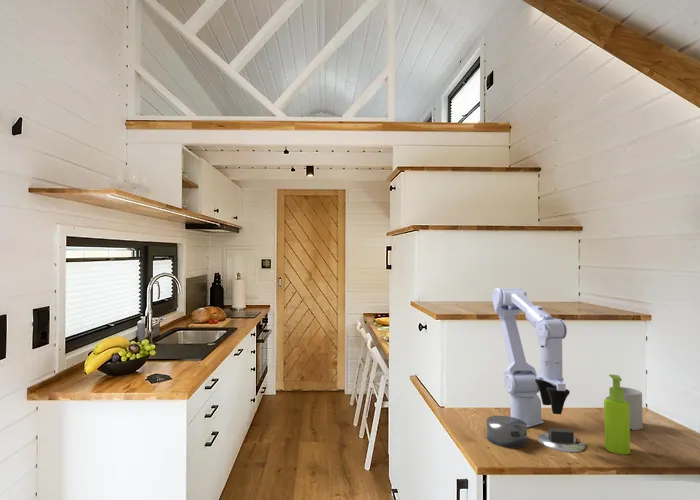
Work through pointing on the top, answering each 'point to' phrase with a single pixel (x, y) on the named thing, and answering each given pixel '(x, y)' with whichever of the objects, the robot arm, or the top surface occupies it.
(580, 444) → the cooker lid
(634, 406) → the mug
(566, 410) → the top surface
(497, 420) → the cooker pot
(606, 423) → the soap dispenser
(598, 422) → the top surface
